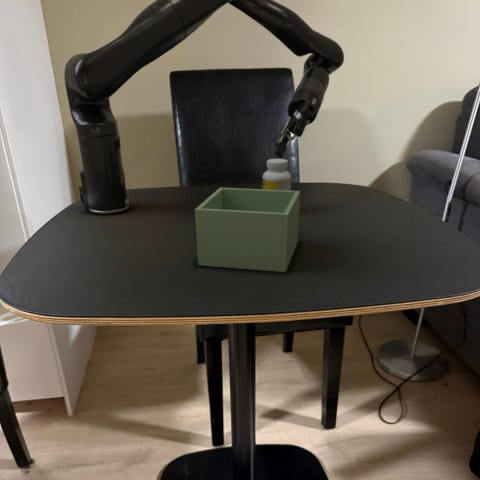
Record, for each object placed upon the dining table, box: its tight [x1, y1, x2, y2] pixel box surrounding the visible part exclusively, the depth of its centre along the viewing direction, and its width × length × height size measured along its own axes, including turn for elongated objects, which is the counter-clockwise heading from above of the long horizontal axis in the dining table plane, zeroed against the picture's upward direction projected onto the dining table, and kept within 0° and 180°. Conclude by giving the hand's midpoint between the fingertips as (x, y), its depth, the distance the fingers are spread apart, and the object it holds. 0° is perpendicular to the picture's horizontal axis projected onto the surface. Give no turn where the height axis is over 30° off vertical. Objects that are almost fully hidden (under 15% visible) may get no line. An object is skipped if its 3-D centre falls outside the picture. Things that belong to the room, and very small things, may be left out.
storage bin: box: [194, 187, 301, 273], centre depth 87 cm, size 16×16×10 cm
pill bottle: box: [262, 158, 292, 191], centre depth 110 cm, size 6×6×12 cm
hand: (287, 144), depth 114 cm, fingers open, 8 cm apart
